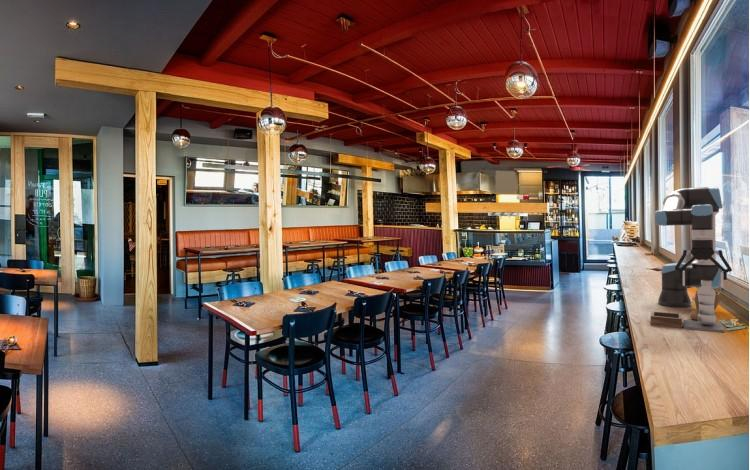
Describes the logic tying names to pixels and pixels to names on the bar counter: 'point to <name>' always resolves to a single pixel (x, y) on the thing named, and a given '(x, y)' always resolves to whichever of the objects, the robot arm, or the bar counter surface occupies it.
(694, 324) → the slate plate
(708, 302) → the plastic bottle
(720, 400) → the bar counter surface
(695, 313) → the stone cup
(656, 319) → the walnut holder
